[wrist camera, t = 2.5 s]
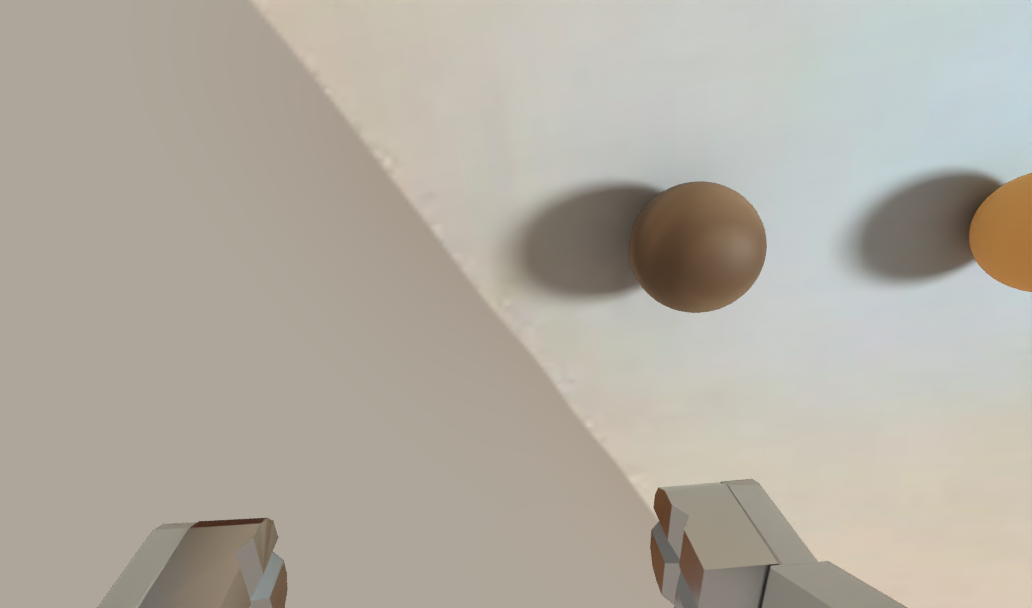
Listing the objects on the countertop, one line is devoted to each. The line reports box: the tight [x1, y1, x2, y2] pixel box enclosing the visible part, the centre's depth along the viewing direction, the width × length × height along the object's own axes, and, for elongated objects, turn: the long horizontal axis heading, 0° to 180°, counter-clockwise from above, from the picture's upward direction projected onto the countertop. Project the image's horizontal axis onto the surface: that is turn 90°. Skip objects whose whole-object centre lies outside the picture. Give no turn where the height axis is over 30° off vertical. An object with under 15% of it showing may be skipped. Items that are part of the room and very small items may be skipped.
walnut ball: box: [629, 182, 767, 313], centre depth 22 cm, size 5×5×5 cm
